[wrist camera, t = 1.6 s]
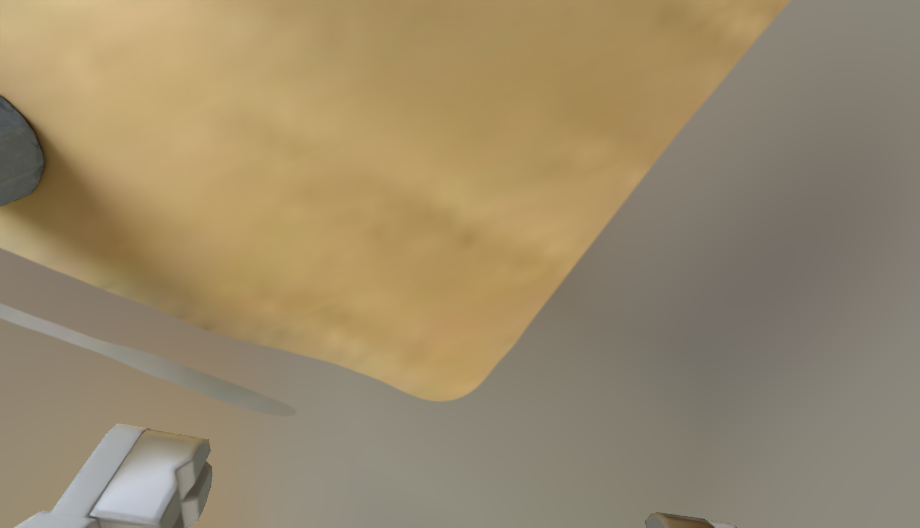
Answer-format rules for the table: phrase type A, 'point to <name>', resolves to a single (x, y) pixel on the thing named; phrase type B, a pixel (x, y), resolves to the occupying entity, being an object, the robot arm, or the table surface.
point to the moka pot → (17, 156)
